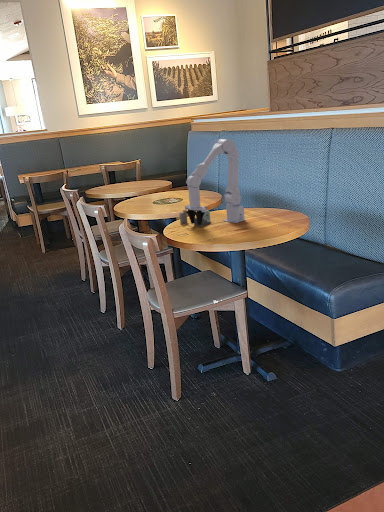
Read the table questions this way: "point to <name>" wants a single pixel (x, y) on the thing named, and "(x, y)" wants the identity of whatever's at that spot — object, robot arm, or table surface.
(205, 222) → the wedge
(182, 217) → the door frame
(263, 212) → the table surface
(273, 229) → the table surface
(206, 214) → the door
